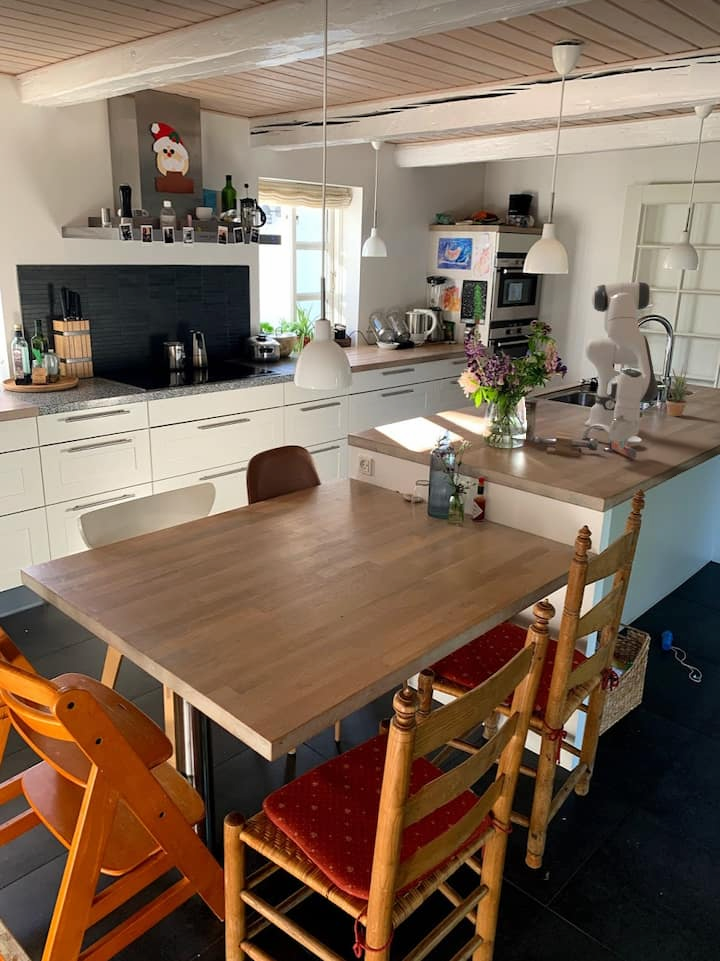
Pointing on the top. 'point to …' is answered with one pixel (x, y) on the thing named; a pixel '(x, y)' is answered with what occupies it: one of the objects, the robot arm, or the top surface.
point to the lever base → (609, 448)
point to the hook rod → (591, 445)
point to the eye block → (563, 445)
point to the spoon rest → (631, 441)
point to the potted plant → (677, 396)
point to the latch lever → (628, 450)
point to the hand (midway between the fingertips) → (621, 450)
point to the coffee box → (530, 417)
